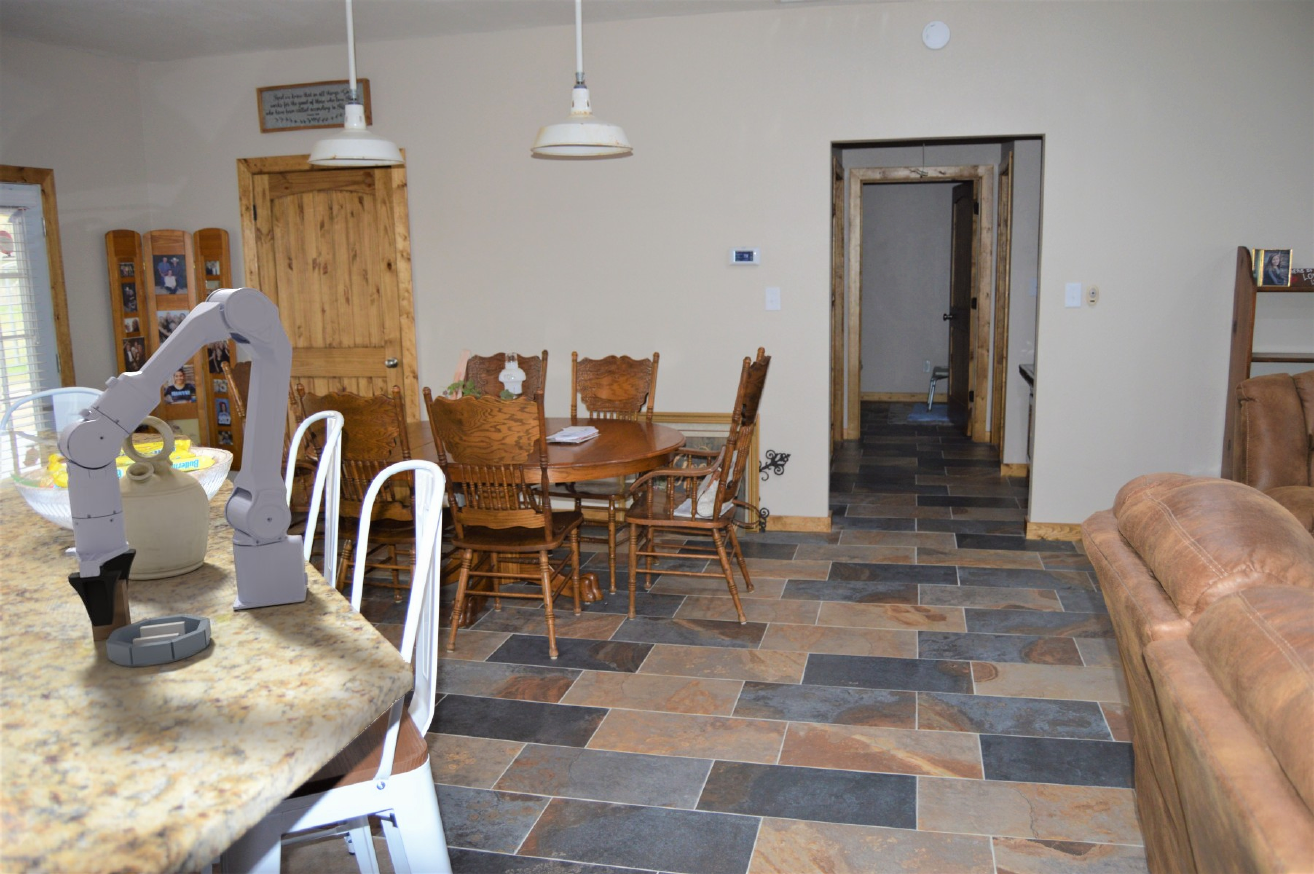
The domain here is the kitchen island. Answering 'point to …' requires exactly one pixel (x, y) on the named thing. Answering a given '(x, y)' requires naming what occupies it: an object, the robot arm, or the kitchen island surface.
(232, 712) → the kitchen island surface
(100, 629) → the wooden rectangular block
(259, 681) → the kitchen island surface
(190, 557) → the jug
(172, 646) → the blue-grey octagonal tray
